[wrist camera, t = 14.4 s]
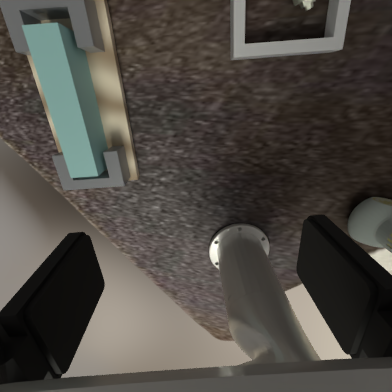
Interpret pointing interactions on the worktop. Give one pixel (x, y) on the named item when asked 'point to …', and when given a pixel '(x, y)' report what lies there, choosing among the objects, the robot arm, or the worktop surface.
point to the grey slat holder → (87, 40)
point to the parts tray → (328, 44)
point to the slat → (69, 97)
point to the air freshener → (372, 222)
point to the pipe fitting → (304, 3)
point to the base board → (103, 89)
